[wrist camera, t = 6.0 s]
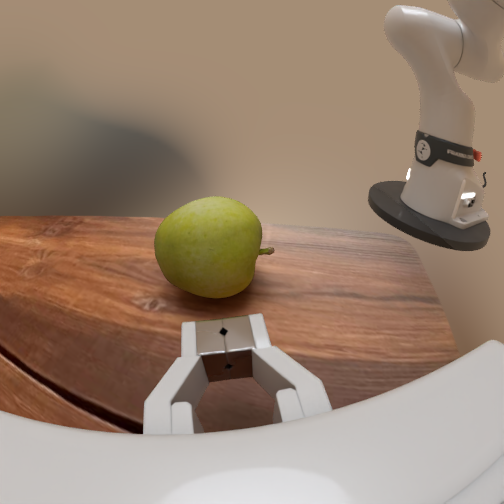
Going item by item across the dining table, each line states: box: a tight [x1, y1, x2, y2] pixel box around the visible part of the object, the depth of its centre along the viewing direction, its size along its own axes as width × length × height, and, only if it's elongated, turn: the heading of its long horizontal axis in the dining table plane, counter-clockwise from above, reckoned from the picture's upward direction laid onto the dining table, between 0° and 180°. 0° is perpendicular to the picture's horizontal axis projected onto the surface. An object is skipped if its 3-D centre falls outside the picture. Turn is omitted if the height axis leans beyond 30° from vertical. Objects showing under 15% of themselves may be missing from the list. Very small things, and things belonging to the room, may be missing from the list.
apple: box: [154, 196, 274, 298], centre depth 22 cm, size 8×9×8 cm
